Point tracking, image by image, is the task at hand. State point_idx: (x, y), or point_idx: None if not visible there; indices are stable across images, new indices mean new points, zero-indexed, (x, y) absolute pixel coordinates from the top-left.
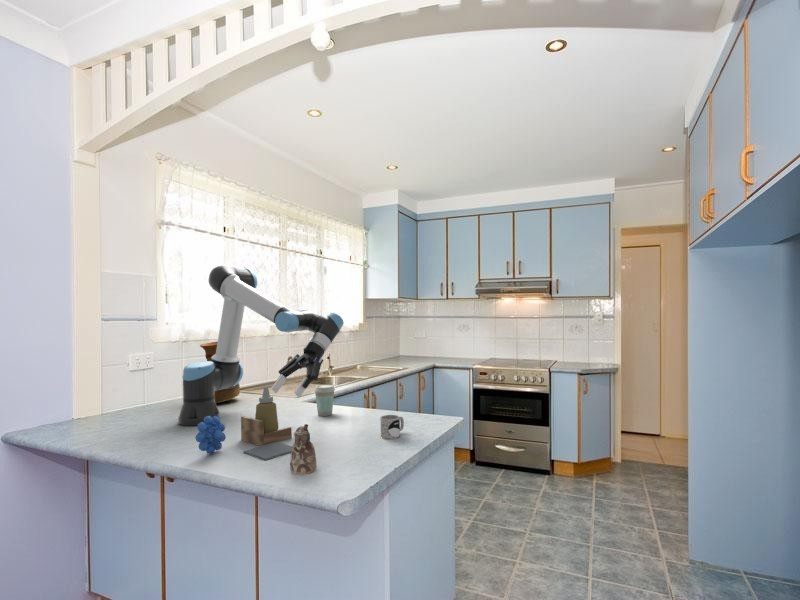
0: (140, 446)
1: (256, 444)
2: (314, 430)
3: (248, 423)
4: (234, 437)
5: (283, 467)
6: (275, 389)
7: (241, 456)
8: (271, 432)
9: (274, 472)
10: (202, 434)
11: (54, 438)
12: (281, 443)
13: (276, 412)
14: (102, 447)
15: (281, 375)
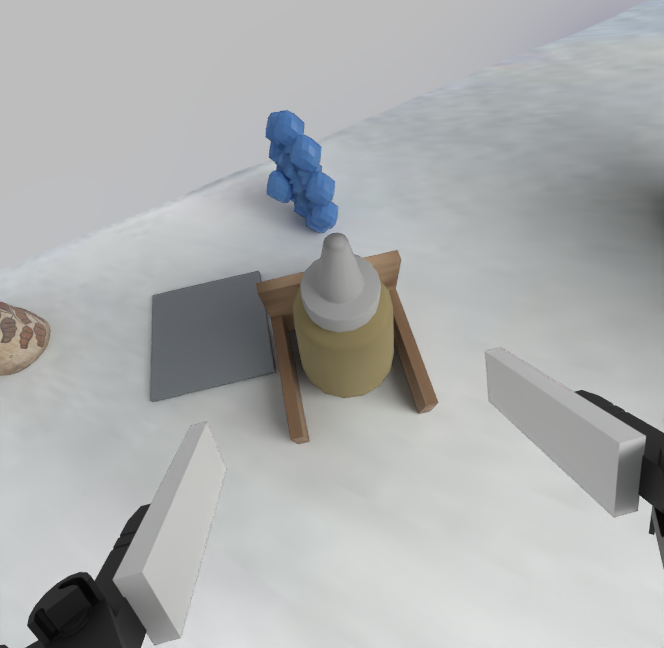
0: (483, 119)
1: None
2: (332, 591)
3: None
4: (433, 290)
5: (75, 314)
6: (494, 383)
7: (234, 263)
8: (279, 347)
9: (69, 289)
10: (272, 145)
11: (656, 17)
12: (240, 376)
13: (317, 364)
14: (520, 74)
15: (608, 431)
